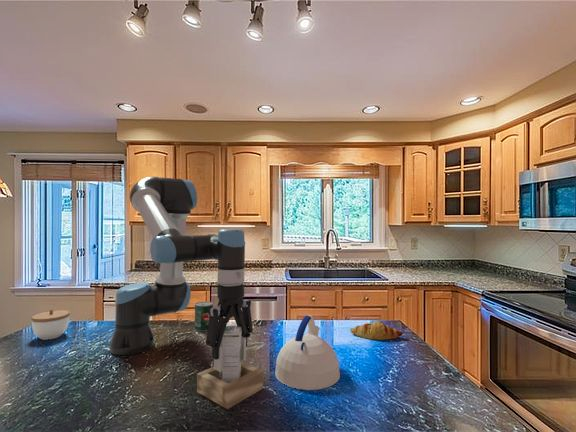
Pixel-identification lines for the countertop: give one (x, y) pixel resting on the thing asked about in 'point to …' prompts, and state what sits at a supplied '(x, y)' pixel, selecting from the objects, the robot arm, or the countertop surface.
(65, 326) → the lidded bowl
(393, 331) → the croissant
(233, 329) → the syrup box
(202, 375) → the socket block
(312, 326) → the kettle
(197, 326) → the canned tomato
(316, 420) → the countertop surface
